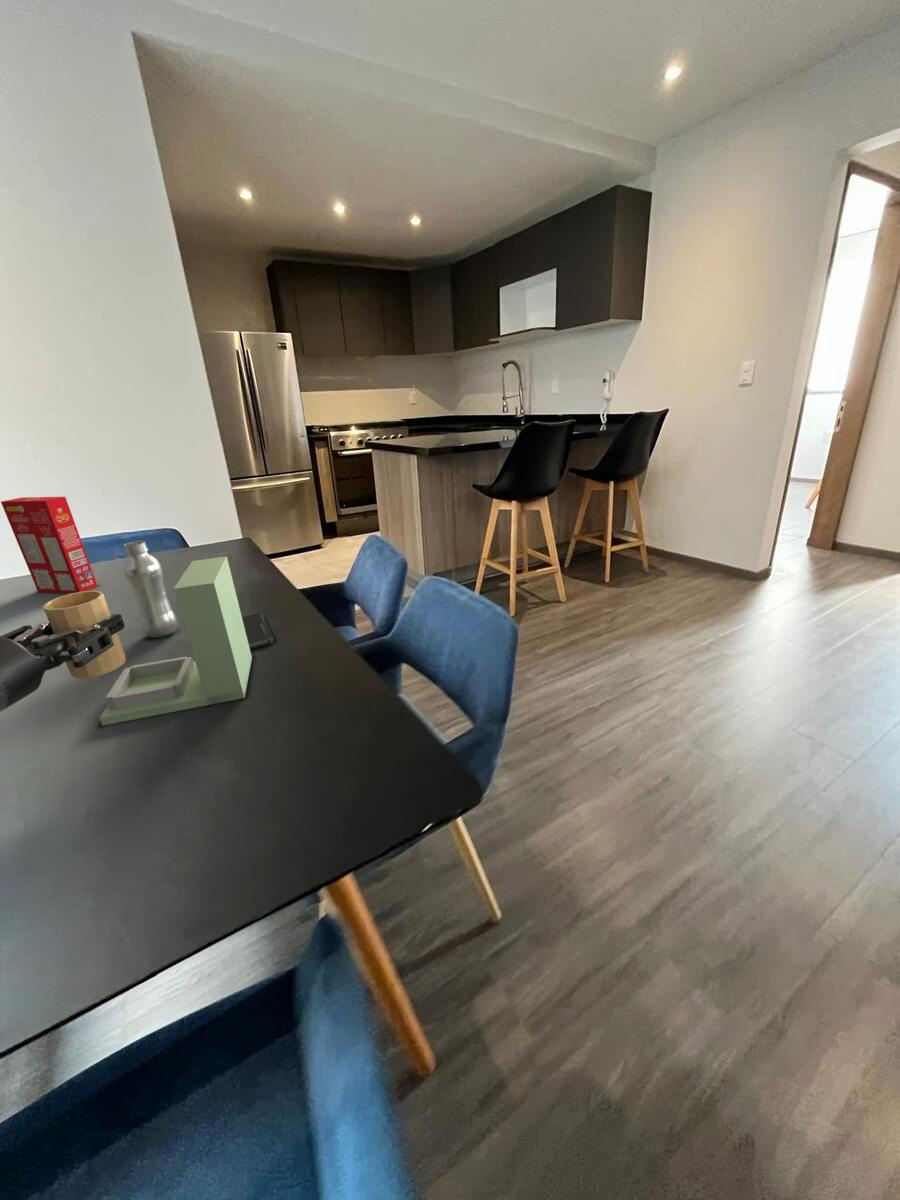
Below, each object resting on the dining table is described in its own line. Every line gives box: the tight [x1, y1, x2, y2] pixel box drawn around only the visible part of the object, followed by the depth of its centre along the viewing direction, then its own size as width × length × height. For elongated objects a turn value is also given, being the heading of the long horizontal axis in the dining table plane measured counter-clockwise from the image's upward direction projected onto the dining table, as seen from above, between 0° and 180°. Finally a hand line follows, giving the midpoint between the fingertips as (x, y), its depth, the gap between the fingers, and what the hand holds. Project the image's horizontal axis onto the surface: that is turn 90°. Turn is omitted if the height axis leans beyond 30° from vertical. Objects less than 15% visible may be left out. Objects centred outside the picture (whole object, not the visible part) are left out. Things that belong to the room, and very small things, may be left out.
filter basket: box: [42, 590, 127, 680], centre depth 66 cm, size 6×6×10 cm
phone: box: [242, 613, 274, 651], centre depth 101 cm, size 8×1×15 cm
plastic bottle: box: [123, 540, 178, 639], centre depth 100 cm, size 6×7×20 cm
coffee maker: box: [99, 556, 253, 726], centre depth 79 cm, size 20×14×20 cm
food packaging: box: [0, 496, 98, 594], centre depth 131 cm, size 15×5×25 cm, turn 77°
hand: (98, 619), depth 68 cm, fingers closed on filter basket, 6 cm apart
